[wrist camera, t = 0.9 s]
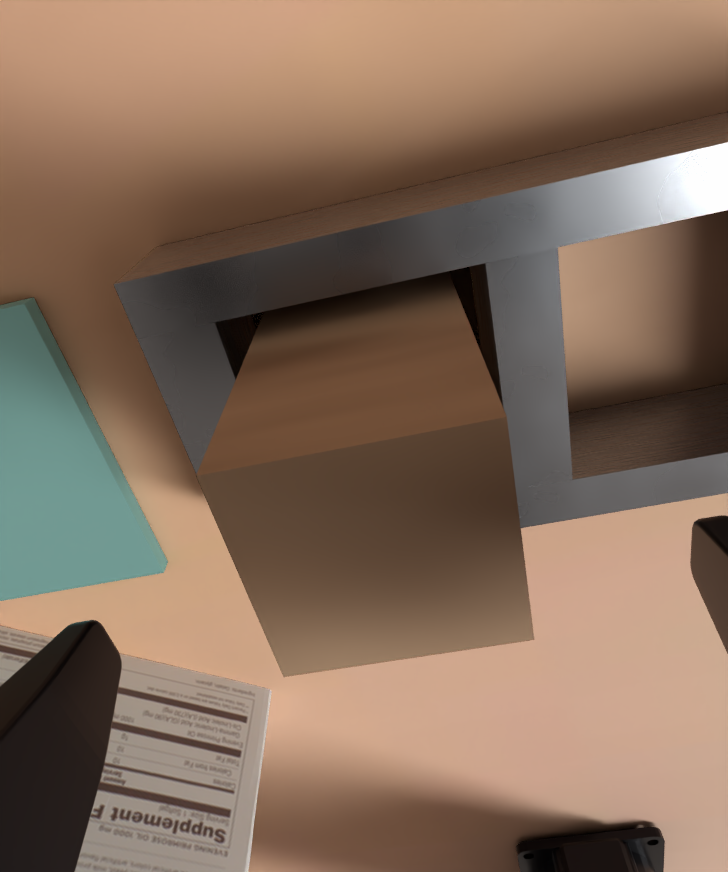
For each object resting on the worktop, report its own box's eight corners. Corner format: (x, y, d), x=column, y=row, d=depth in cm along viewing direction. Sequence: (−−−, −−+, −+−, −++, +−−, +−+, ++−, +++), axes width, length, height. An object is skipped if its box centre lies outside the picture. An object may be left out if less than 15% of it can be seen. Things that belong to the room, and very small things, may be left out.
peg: (467, 413, 17) (534, 639, 11) (315, 442, 18) (283, 677, 11) (443, 258, 15) (506, 416, 8) (270, 296, 16) (196, 476, 9)
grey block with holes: (811, 405, 17) (889, 464, 15) (257, 506, 19) (240, 575, 16) (863, 79, 13) (984, 83, 11) (156, 246, 15) (113, 284, 12)
